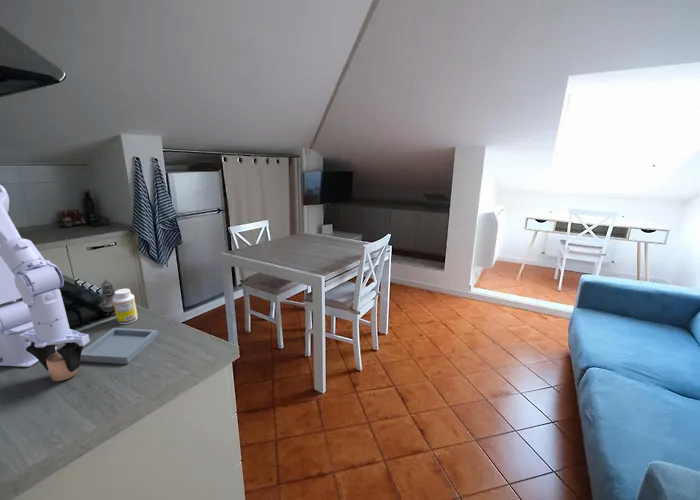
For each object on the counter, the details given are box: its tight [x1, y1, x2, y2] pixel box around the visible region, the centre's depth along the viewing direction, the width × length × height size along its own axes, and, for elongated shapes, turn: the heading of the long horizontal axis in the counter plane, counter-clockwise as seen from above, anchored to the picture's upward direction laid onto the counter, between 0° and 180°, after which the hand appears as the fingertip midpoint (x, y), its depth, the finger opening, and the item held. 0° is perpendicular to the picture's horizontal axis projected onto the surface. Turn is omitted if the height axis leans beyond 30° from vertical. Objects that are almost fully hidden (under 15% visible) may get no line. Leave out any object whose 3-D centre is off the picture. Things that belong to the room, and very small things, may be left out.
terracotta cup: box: [46, 351, 79, 382], centre depth 78 cm, size 5×6×5 cm
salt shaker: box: [99, 279, 116, 313], centre depth 105 cm, size 6×6×12 cm
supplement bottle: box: [113, 288, 139, 325], centre depth 102 cm, size 6×6×10 cm
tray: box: [80, 327, 159, 365], centre depth 89 cm, size 13×13×2 cm
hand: (63, 368), depth 78 cm, fingers closed on terracotta cup, 5 cm apart
